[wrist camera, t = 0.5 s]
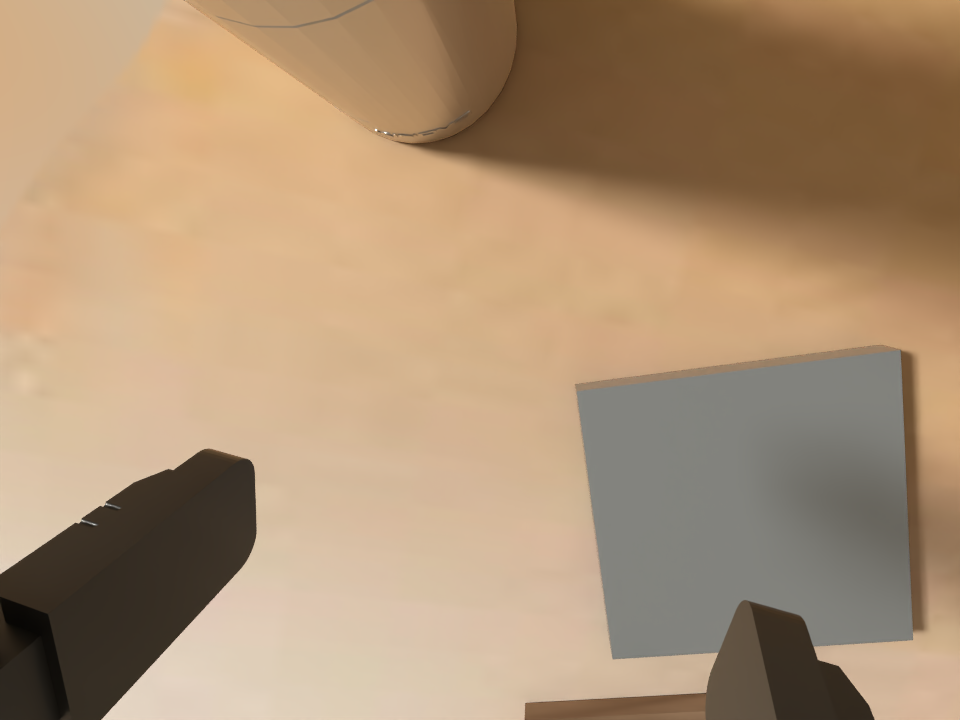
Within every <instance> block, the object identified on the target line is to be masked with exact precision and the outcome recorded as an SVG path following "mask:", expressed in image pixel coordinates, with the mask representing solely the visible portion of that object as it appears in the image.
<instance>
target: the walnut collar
mask: <svg viewBox="0 0 960 720" xmlns="http://www.w3.org/2000/svg"><path fill="white" fill-rule="evenodd" d="M705 705H706V693H705V694H687V695H669V696H650V697H632V698H614V699H595V700H577V701H559V702H540V703H525V720H706V716H705Z"/></svg>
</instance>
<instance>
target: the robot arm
mask: <svg viewBox="0 0 960 720" xmlns="http://www.w3.org/2000/svg"><path fill="white" fill-rule="evenodd" d="M184 1H186V2H187V3H189V4H190V5H191V6H193V7H194V8H196V9H197V10H199V11H200V12H201V13H203V14H204V15H206V16H207V17H209V18H210V19H211V20H213V21H214V22H216V23H217V24H218V25H220V26H221V27H223V28H224V29H226V30H227V31H228V32H230V33H231V34H233V35H234V36H235V37H237V38H238V39H240V40H241V41H243V42H244V43H245V44H247V45H248V46H250V47H251V48H252V49H254V50H255V51H257V52H258V53H260V54H261V55H262V56H264V57H265V58H267V59H268V60H270V61H271V62H272V63H274V64H275V65H277V66H278V67H279V68H281V69H282V70H284V71H285V72H287V73H288V74H289V75H291V76H292V77H294V78H295V79H296V80H298V81H299V82H301V83H302V84H304V85H305V86H306V87H308V88H309V89H311V90H312V91H313V92H315V93H316V94H318V95H319V96H321V97H322V98H323V99H325V100H326V101H328V102H329V103H331V104H332V105H333V106H335V107H336V108H337V109H339V110H340V111H342V112H343V113H345V114H346V115H348V116H349V117H350V118H352V119H353V120H355V121H356V122H358V123H359V124H361V125H362V126H364V127H365V128H367V129H368V130H370V131H371V132H373V133H375V134H377V135H380V136H382V137H385V138H387V139H390V140H393V141H399V142H406V143H412V144H413V143H426V142H434V141H438V140H441V139H444V138H447V137H451V136H453V135H455V134H457V133H459V132H460V131H462V130H464V129H466V128H467V127H469V126H471V125H472V124H473V123H474V122H475V121H476V120H478V119H479V118H480V117H481V116H482V115H483V114H484V113H485V112H486V111H488V109H489V108H490V106H491V105H492V104H493V102H494V101H495V100H496V98H497V97H498V96H499V94H500V93H501V91H502V89H503V87H504V84H505V82H506V80H507V78H508V76H509V74H510V71H511V67H512V63H513V59H514V55H515V51H516V37H517V22H516V13H515V5H514V0H184ZM255 539H256V499H255V471H254V466H253V464H252V462H251V461H250V460H248V459H245V458H241V457H238V456H234V455H230V454H227V453H223V452H220V451H216V450H213V449H204V450H202V451H200V452H198V453H197V454H195V455H194V456H193V457H191V458H190V459H188V460H187V461H186V462H184V463H183V464H181V465H180V466H179V467H177V468H176V469H174V470H170V469H168V470H165V471H162V472H160V473H157V474H155V475H152V476H150V477H147V478H145V479H142V480H139V481H137V482H134V483H133V484H131V485H130V486H128V487H127V488H125V489H124V490H123V491H121V492H120V493H118V494H117V495H115V496H114V497H112V498H111V499H109V500H108V501H107V502H106V504H105V506H104V507H101V506H99V507H98V508H96V509H95V510H93V511H92V512H91V513H89V514H88V515H86V516H85V517H83V518H82V520H81V522H80V523H79V524H78V523H74V524H73V525H72V526H70V527H69V528H67V529H66V530H64V531H63V532H61V533H60V534H58V535H57V536H56V537H54V538H53V539H51V540H50V541H48V542H47V543H45V544H44V545H42V546H41V547H40V548H38V549H37V550H35V551H34V552H32V553H31V554H29V555H28V556H26V557H25V558H23V559H22V560H21V561H19V562H18V563H16V564H15V565H13V566H12V567H10V568H9V569H7V570H6V571H5V572H3V573H2V574H0V720H101V719H102V718H103V717H104V716H105V715H106V714H107V713H108V712H109V711H110V709H111V708H112V707H113V706H114V705H115V704H116V703H117V702H118V701H119V700H120V699H121V698H122V697H123V695H124V694H125V693H126V692H127V691H128V690H129V689H130V688H131V687H132V686H133V685H134V684H135V682H136V681H137V680H138V679H139V678H140V677H141V676H142V675H143V674H144V673H145V672H146V671H147V669H148V668H149V667H150V666H151V665H152V664H153V663H154V662H155V661H156V660H157V659H158V658H159V657H160V655H161V654H162V653H163V652H164V651H165V650H166V649H167V648H168V647H169V646H170V645H171V644H172V642H173V641H174V640H175V639H176V638H177V637H178V636H179V635H180V634H181V633H182V632H183V631H184V630H185V628H186V627H187V626H188V625H189V624H190V623H191V622H192V621H193V620H194V619H195V618H196V617H197V615H198V614H199V613H200V612H201V611H202V610H203V609H204V608H205V607H206V606H207V605H208V604H209V602H210V601H211V600H212V599H213V598H214V597H215V596H216V595H217V594H218V593H219V592H220V591H221V590H222V588H223V587H224V586H225V585H226V584H227V583H228V582H229V581H230V580H231V579H232V578H233V577H234V575H235V574H236V573H237V572H238V571H239V570H240V569H241V568H242V567H243V565H244V564H245V562H246V561H247V559H248V557H249V555H250V553H251V551H252V549H253V546H254V543H255ZM705 716H706V720H874V717H873V715H872V712H871V710H870V707H869V705H868V704H867V702H866V701H865V700H864V698H863V697H862V696H861V695H860V693H859V692H858V691H857V689H856V688H855V687H854V685H853V684H852V683H851V682H850V680H849V679H848V678H847V676H846V675H845V674H844V672H843V671H842V670H841V668H840V667H839V666H836V665H833V664H829V663H826V662H822V661H819V660H818V659H817V656H816V653H815V650H814V647H813V644H812V641H811V638H810V635H809V632H808V629H807V626H806V623H805V621H804V620H803V618H802V617H801V616H800V615H797V614H794V613H790V612H787V611H783V610H779V609H776V608H772V607H769V606H765V605H762V604H758V603H754V602H751V601H747V600H743V601H741V603H740V604H739V605H738V607H737V609H736V611H735V614H734V616H733V619H732V621H731V624H730V626H729V628H728V631H727V633H726V636H725V638H724V641H723V643H722V646H721V648H720V651H719V653H718V656H717V658H716V661H715V663H714V665H713V668H712V671H711V673H710V677H709V681H708V686H707V693H706V705H705Z"/></svg>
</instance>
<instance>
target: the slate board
mask: <svg viewBox="0 0 960 720" xmlns="http://www.w3.org/2000/svg"><path fill="white" fill-rule="evenodd" d="M575 388H576V395H577V403H578V410H579V418H580V425H581V432H582V440H583V447H584V455H585V462H586V470H587V477H588V484H589V492H590V499H591V507H592V514H593V521H594V529H595V536H596V544H597V551H598V558H599V566H600V573H601V581H602V588H603V596H604V603H605V610H606V618H607V625H608V633H609V640H610V646H611V652H612V658H613V659H625V658H641V657H656V656H672V655H688V654H703V653H719V651H720V648H721V646H722V643H723V641H724V638H725V636H726V633H727V631H728V628H729V626H730V624H731V621H732V619H733V616H734V614H735V611H736V609H737V607H738V605H739V604H740V603H741V601H743V600H747V601H751V602H754V603H758V604H762V605H765V606H769V607H772V608H776V609H779V610H783V611H787V612H790V613H794V614H797V615H800V616H801V617H802V618H803V620H804V621H805V623H806V626H807V629H808V632H809V635H810V638H811V641H812V644H813V646H829V645H845V644H860V643H876V642H892V641H907V640H913V625H912V602H911V578H910V555H909V532H908V509H907V486H906V462H905V439H904V416H903V393H902V369H901V350H899V349H895V348H891V347H888V346H884V345H876V346H868V347H860V348H852V349H845V350H837V351H829V352H821V353H814V354H806V355H798V356H790V357H783V358H775V359H767V360H759V361H752V362H744V363H736V364H729V365H721V366H713V367H705V368H698V369H690V370H682V371H674V372H667V373H659V374H651V375H643V376H636V377H628V378H620V379H612V380H605V381H597V382H589V383H581V384H575Z"/></svg>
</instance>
